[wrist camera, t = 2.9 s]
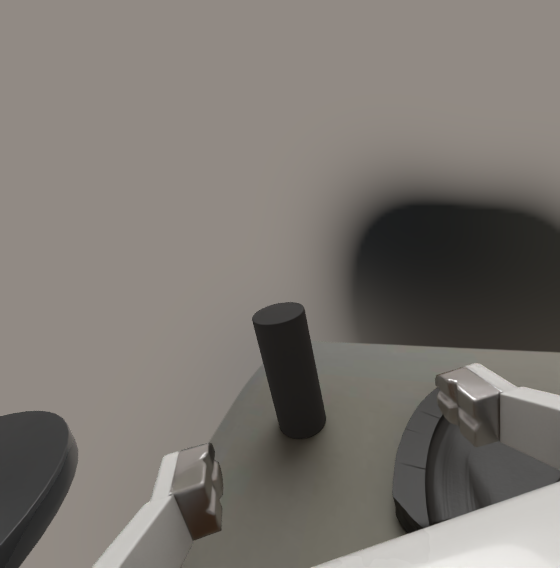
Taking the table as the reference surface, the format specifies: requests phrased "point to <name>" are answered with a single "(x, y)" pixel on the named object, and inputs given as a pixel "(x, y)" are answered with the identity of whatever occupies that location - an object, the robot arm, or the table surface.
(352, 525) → the table surface
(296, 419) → the dark cylindrical post
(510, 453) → the dark sector wedge
